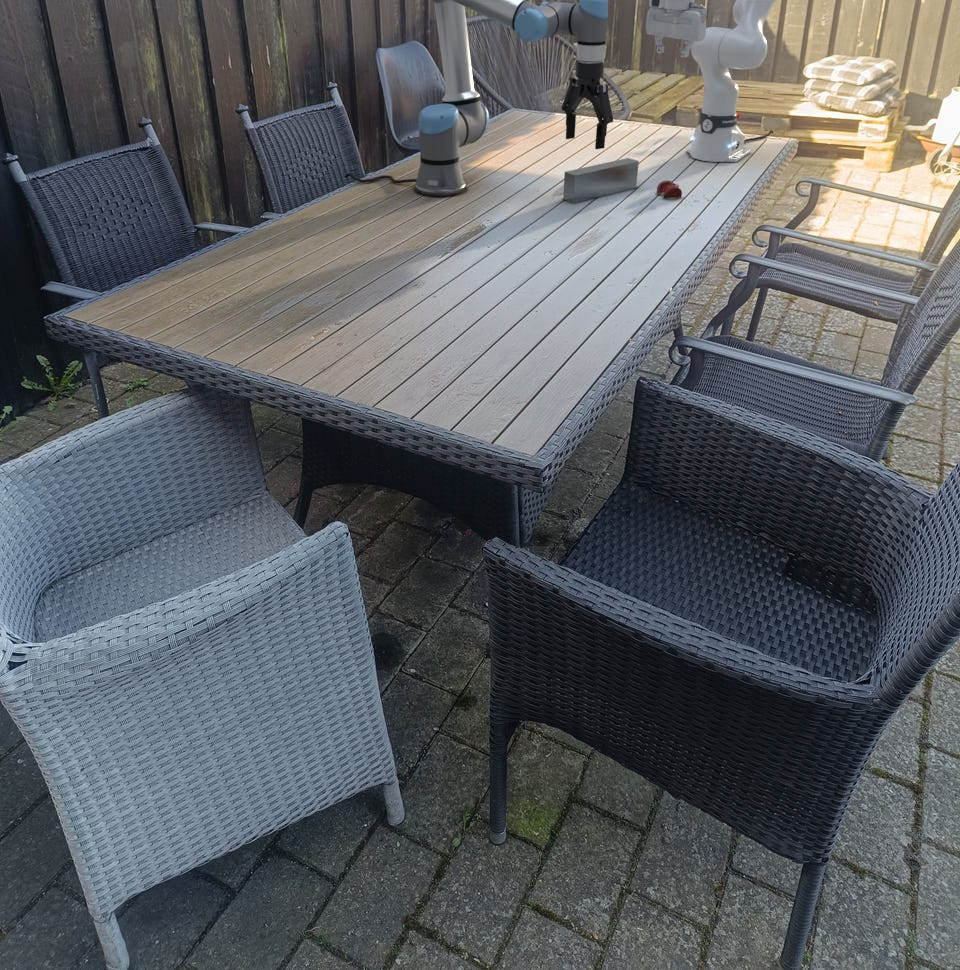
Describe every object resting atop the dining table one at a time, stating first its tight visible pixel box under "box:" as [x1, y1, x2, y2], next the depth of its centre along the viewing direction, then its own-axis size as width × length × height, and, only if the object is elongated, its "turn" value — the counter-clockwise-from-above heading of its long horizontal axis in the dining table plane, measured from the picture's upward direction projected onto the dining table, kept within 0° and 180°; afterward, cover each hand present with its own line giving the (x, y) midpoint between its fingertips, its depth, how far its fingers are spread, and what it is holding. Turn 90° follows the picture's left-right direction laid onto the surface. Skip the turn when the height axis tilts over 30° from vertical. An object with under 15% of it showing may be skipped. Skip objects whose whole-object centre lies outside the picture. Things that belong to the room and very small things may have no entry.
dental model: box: [656, 180, 683, 200], centre depth 252 cm, size 6×4×8 cm
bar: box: [562, 157, 640, 204], centre depth 253 cm, size 26×5×8 cm, turn 126°
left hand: (584, 143), depth 241 cm, fingers open, 13 cm apart
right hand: (672, 54), depth 250 cm, fingers open, 8 cm apart
